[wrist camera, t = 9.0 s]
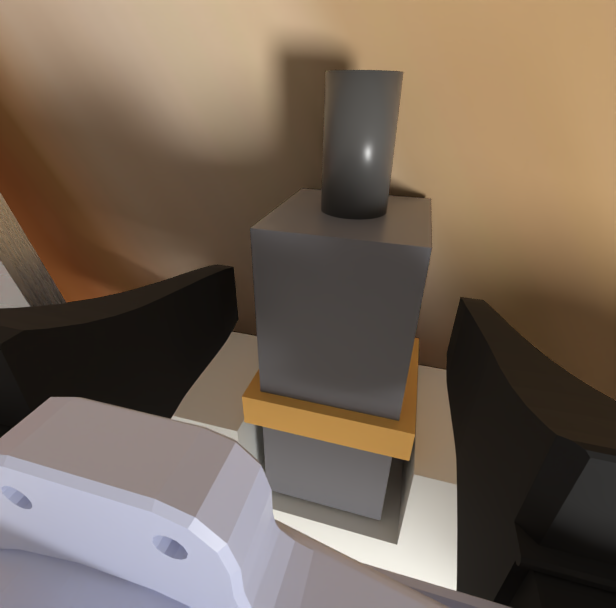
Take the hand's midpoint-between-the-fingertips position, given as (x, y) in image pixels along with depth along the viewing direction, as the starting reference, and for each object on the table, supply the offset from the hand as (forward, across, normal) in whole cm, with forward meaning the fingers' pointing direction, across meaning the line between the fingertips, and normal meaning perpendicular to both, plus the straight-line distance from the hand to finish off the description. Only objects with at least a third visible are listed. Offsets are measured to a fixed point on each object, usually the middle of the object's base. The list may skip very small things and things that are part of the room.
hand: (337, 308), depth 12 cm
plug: (+3, 0, +1) cm, 4 cm away
